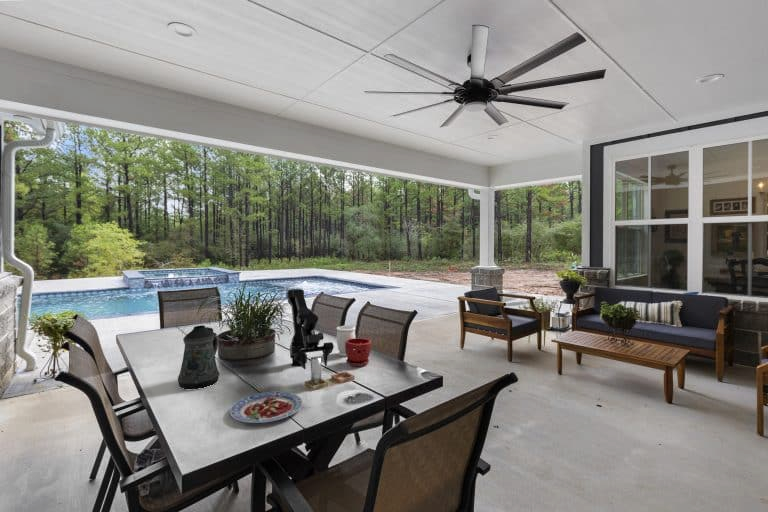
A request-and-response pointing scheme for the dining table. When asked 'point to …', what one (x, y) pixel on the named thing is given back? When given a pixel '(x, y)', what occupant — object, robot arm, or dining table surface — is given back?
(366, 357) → the plant pot
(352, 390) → the dining table surface
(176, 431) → the dining table surface
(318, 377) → the cylinder
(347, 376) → the brown divided tray
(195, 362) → the beer stein
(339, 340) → the jar
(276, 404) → the ceramic plate
